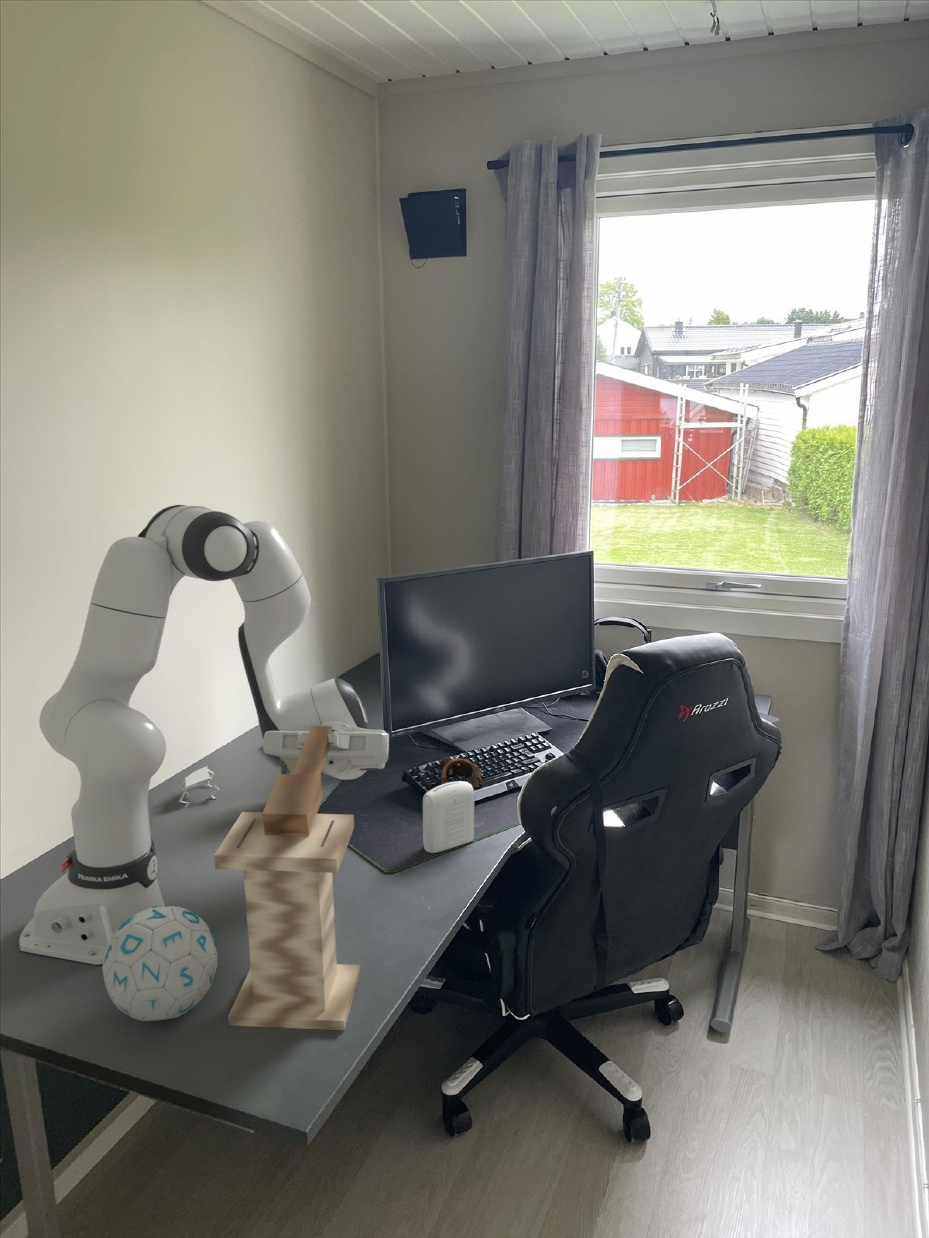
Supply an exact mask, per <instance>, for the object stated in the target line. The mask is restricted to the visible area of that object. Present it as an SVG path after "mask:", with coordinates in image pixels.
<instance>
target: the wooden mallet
mask: <svg viewBox="0 0 929 1238" xmlns="http://www.w3.org/2000/svg"><path fill="white" fill-rule="evenodd" d="M328 734H333V732H332V726H312V727H311V729H310V732H309V734H308V737H307V739H306V742H305V744H304V747H303V749H302V752H301V754H300V757H299V759H298V762H297V764H296V767H295V769H294V772H293V774H292V775H290V774H281V773H278V775H277V777H276V779H275V782H274V784H273V788H272V790H271V792H270V794H269V796H268V799H267V801H266V803H265V806H264V809H263V811H262V812H263V813H262V816H263V823H264V830H265V832H264V834H265V835H287V836H309V835H310V832H311V829H312V827H313V824H314V821H315V818H316V815H317V814H318V811H319V809H320V806H321V803H322V800H323V795H324V793H323V788H322V778H321V777H322V775H321V774H322V772H321V771H322V768H323V765H324V762H325V759H326V757H327V754H328V751H329V748H330V746H329V745H328V740H329V739H328Z"/></svg>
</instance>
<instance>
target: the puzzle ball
mask: <svg viewBox="0 0 929 1238" xmlns="http://www.w3.org/2000/svg"><path fill="white" fill-rule="evenodd" d="M212 932H213V931H212V929H211V928H209V925H208V924H207V922H205V921H204V920H203V918H202V917H201V916H198V915H197V914H196V913H195V912H193V911H191V910H189V909H187V908H184V907H182V906H175V905H173V904H170V905H167V906H166V905H165V906H164V907H157V906H154V907H152V908H149V909H146V910H143V911H141V912H139V913H137V914H135V915H134V916H133V917H131V918H130V919H128V920H127V921H125V922H124V923H122V925H121V926H120V927H119V928H118V930H117V931H116V932H115V934H114V935H113V936H112V938H111V940H110V942H109V944H108V947H107V949H106V952H105V955H104V959H103V964H102V975H103V977H102V978H103V984H104V988H105V989H104V990H105V991H106V993H107V995H108V997H109V998H110V1000H111V1001H112V1003H113V1005H115V1006H116V1008H117V1009H118V1010H119V1011H121V1012H122V1013H124V1014H125V1015H127V1016H129V1017H130V1018H132V1019H134V1020H139V1021H141V1022H152V1021H163V1020H164V1021H165V1020H171V1019H176V1018H179V1017H181V1016H182V1015H185V1014H186V1013H188V1012H189V1011H190V1010H191V1009H193V1007H195V1006H196V1005H198V1004H199V1002H200V1001H201V1000H202V999H203V998H204V997H205V996H206V993H208V991H209V989H210V988H211V986H212V984H213V981H214V977H215V974H216V972H217V971H216V970H217V968H218V963H219V962H218V952H217V948H218V946H217V941H216V939H215V936H214V933H212Z"/></svg>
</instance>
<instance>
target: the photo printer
mask: <svg viewBox="0 0 929 1238" xmlns="http://www.w3.org/2000/svg"><path fill="white" fill-rule="evenodd" d="M422 797H423V798H422V839H423V840H422V843H423V846H424V850H425V852H427V853H430V854H435V853H440V852H443V851H446V850H450V849H452V848H456V847H458V846H461V845H464V844H465V845H466V844H468V843H471V842H472V841H474V839H475V791H474V788H473V787H472V785H471V784H469V783H468V782H465V781H459V780H458V781H450V782H449V783H445V784H442V783H441V784H440V785H438V786H435V787H434V788H432V789H429V790H428V791H427V792H426V793H425V794H424V795H423V796H422Z"/></svg>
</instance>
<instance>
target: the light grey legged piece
mask: <svg viewBox="0 0 929 1238" xmlns="http://www.w3.org/2000/svg"><path fill="white" fill-rule="evenodd" d="M214 775H215V772H213V771H212V770H211V769H209V766H208V765H207V766H204V767H202V768H200V769H197V770H195V771H193V772H191V773H190V774H189V775H187V776H185V777H184V780H183V782H182V783H181V785H180V788H181V789H182V791H183V792H182V795H181V797H180V798H179V800H178V803H182V804H186V805H185V806H184V807H186V808H187V807H188V806H189V804H190V802H188V801H183V798H184V796H185V795H187V796H186V798H187V797H188V798H189V796H190V794H189V792H188V791H187V790H188V789H191V788H194V787H196V786H198V785H200V784H203V783H207V784H206V786H208V787H209V788H213V787H214V788H215V789H214V790H213V791H212V792H211V793H210V794H209V796H210V797H211V798H212V799H213V800H214V799H215V798H216V797H215V796H214V795H216V794H217V793H219V792H220V788H219V787H218V786H217V785H216V784H215V783H214V782H213V776H214ZM184 785H185V786H184ZM212 786H213V787H212Z"/></svg>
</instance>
